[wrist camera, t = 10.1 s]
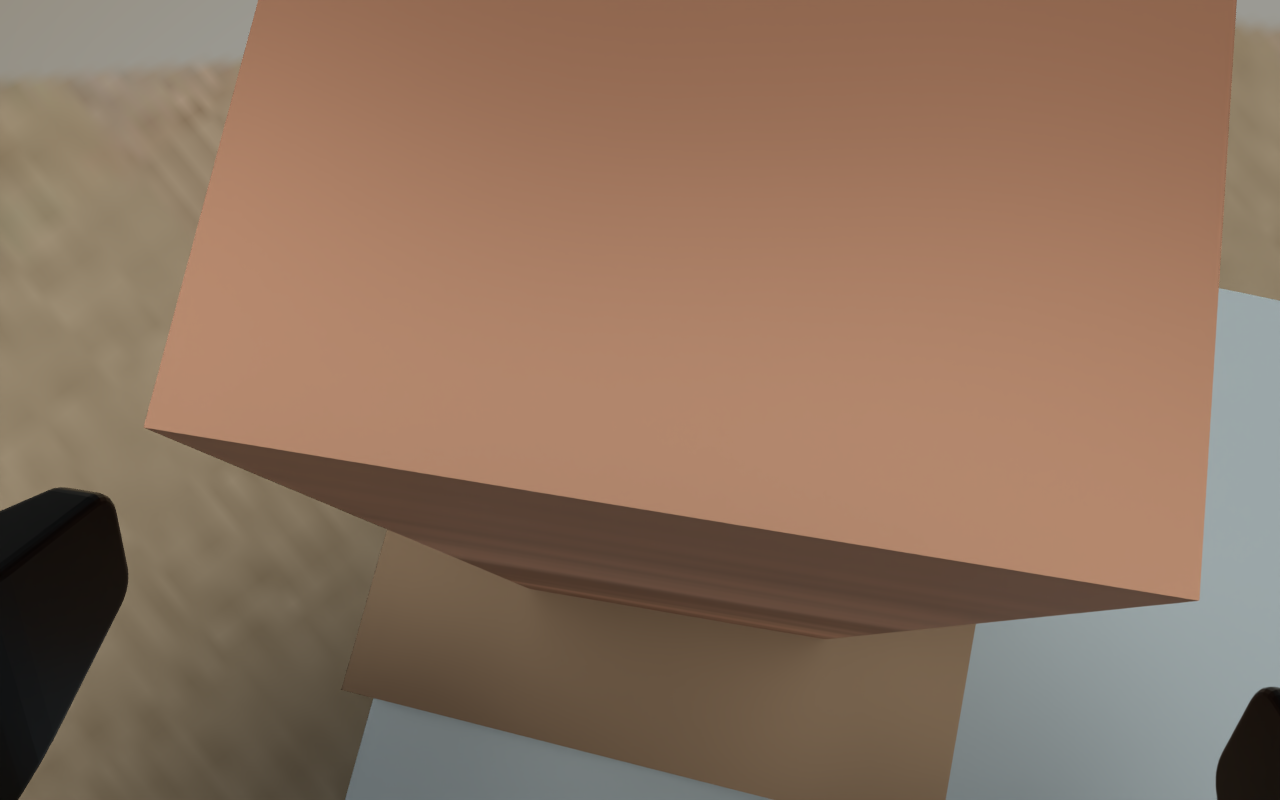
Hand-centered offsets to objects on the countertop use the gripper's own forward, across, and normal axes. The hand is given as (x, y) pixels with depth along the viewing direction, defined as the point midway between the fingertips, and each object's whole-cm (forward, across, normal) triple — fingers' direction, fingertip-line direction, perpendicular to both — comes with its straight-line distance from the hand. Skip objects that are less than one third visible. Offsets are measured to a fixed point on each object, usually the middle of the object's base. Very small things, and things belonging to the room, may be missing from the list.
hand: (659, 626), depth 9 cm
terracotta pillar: (+8, 0, +4) cm, 9 cm away
